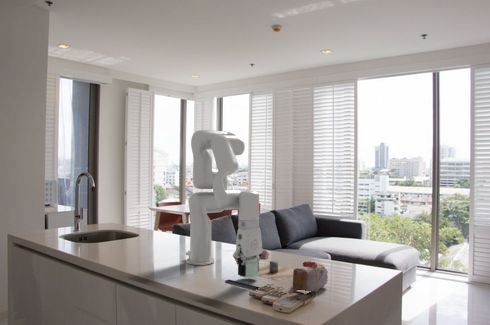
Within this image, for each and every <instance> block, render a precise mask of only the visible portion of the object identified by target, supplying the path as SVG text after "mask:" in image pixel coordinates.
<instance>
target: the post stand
mask: <svg viewBox="0 0 490 325" xmlns="http://www.w3.org/2000/svg"><path fill="white" fill-rule="evenodd" d="M293 269H294V268H289V267H284V266H280V265H279V261H278V260H269V264H266V265H262V266H259V272H258V276H257V277H259V278H265V279H270V280H272V281H273V280H274V281H278V282H279V281H281V280H282V281H283V280H286V279H289V278H291V277H292V278H293V271H294V270H293Z"/></svg>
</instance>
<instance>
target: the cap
mask: <svg viewBox="0 0 490 325" xmlns="http://www.w3.org/2000/svg"><path fill="white" fill-rule="evenodd" d="M242 259H243V258H241V260H242ZM244 265H246V275H245V276H241V275H239V277H241V278H256V277H259V276H258V261H257V257H248V258H246V260H245V264H244Z"/></svg>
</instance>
